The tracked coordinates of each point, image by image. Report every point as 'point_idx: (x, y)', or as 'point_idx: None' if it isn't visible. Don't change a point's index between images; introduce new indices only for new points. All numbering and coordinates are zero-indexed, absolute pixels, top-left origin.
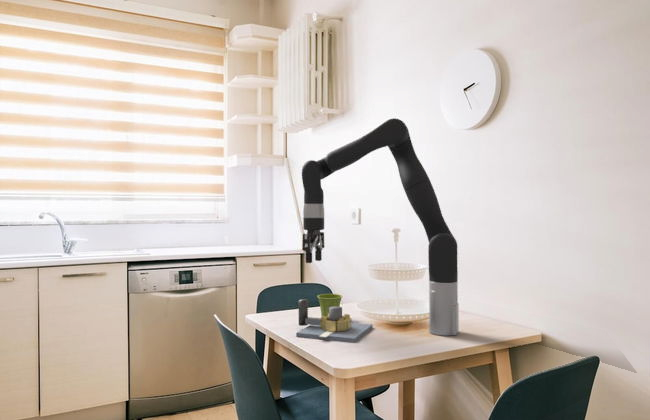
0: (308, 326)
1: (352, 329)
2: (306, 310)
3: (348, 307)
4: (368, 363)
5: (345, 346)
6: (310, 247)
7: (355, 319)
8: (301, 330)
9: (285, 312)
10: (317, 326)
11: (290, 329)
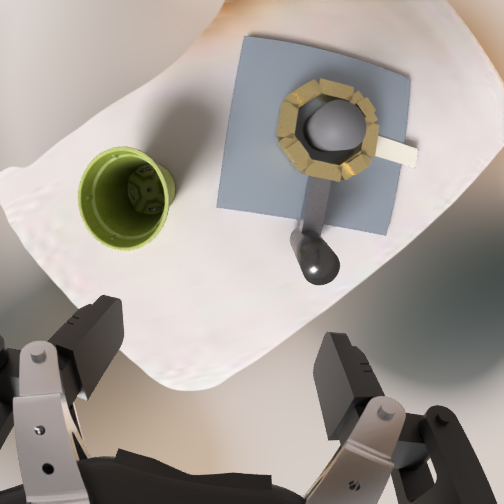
0: None
1: None
2: (322, 239)
3: (20, 183)
4: (495, 76)
5: (436, 103)
6: (388, 449)
7: (142, 109)
8: (362, 228)
9: None
10: None
11: None
